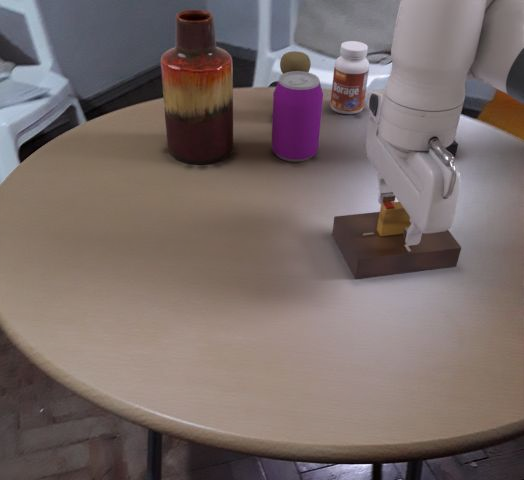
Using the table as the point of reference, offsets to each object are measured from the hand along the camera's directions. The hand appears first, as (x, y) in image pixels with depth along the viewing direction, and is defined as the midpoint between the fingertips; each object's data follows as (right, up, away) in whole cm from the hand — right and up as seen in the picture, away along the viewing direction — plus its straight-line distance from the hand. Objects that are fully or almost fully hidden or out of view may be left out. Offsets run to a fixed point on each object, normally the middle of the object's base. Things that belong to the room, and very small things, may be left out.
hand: (397, 222), depth 82 cm
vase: (-28, +17, +22) cm, 39 cm away
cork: (-12, +25, +32) cm, 42 cm away
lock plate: (0, -3, +3) cm, 4 cm away
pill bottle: (-2, +28, +35) cm, 45 cm away
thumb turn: (0, -1, +1) cm, 1 cm away
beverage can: (-12, +16, +22) cm, 30 cm away
